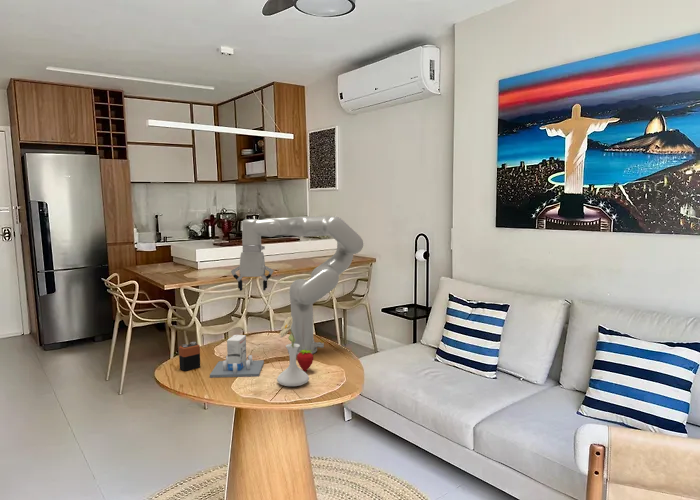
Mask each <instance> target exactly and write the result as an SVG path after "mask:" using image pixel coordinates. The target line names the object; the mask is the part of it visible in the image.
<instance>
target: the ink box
mask: <svg viewBox="0 0 700 500" xmlns="http://www.w3.org/2000/svg"><path fill="white" fill-rule="evenodd" d="M226 346H227V347H226V352H227V353H226V354H227V355H226V356H228V370H233V363H237V370H238V371H240V370H241V369H242V368H243V367H244V366H245V365H246V360H247V335H243V334H233V335H232V336H231V337H229V338H228V339H227V341H226Z"/></svg>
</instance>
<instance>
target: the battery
mask: <svg viewBox="0 0 700 500" xmlns="http://www.w3.org/2000/svg"><path fill="white" fill-rule="evenodd" d="M178 358H179V370H182V372H183V371H184V372H188V371H191V370H195V369H199V368H201V346H200V344H198V343H197V342H196V341H191V342H189V343H185V344H182V345H179V346H178Z"/></svg>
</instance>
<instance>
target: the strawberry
mask: <svg viewBox="0 0 700 500" xmlns="http://www.w3.org/2000/svg"><path fill="white" fill-rule="evenodd" d="M306 348H307V347H306ZM310 351H313V350H308V351H307V350H306V349H305V350H301V351H299V352H300V353H298V355H296V362H297V363H298V365H299V368H300V369H301V370H303V371H304V372H305V373H307V371H308V370H309V369H310V368H311V366H312V364H313V362H314V354H311V352H310Z"/></svg>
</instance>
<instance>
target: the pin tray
mask: <svg viewBox="0 0 700 500" xmlns="http://www.w3.org/2000/svg"><path fill="white" fill-rule="evenodd" d="M264 364H265V360H264V359H258V360H257V359H256V360H255V359H254V360H253V355H252V354H249V355H247V359H246V365H245V366H244V367H243V368H242V369H241V370H240V371H238V370H237V363H233V370H228V355H226V356H225V360H219V361H218V362H217V363H216V364H215V366H214V368H213V369H212V371H211V372H210V374H209V378H210V379H211V378H239V377H240V378H241V377H242V378H244V377H245V378H248V377H252V378H253V377H260V375H261V372H262V369H263V367H264Z"/></svg>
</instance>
